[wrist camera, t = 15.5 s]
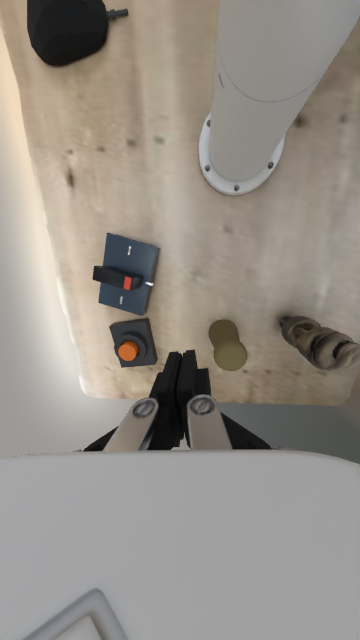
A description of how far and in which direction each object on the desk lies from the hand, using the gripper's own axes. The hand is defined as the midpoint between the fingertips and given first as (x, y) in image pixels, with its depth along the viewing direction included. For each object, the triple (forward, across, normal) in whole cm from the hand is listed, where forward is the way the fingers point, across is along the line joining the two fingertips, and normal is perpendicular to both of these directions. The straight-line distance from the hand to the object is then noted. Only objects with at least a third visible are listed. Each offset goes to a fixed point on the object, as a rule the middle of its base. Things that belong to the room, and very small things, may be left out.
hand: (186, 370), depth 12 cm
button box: (+25, +14, +8) cm, 30 cm away
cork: (+25, -5, +8) cm, 27 cm away
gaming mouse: (+25, +11, -42) cm, 50 cm away
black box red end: (+22, +12, -7) cm, 26 cm away
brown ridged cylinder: (+25, -17, +7) cm, 31 cm away
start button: (+22, +15, +8) cm, 27 cm away
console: (+25, +12, -7) cm, 29 cm away
